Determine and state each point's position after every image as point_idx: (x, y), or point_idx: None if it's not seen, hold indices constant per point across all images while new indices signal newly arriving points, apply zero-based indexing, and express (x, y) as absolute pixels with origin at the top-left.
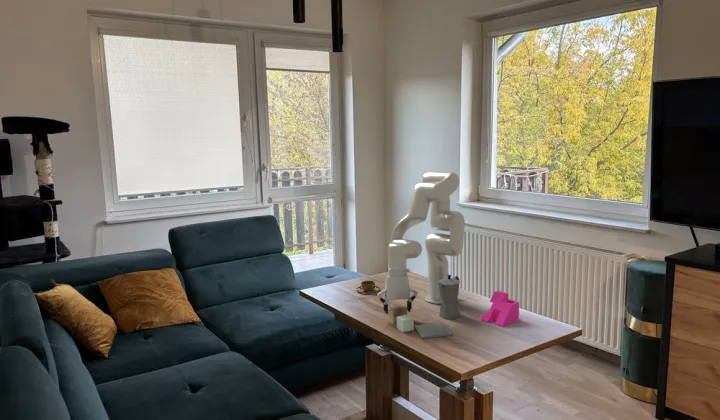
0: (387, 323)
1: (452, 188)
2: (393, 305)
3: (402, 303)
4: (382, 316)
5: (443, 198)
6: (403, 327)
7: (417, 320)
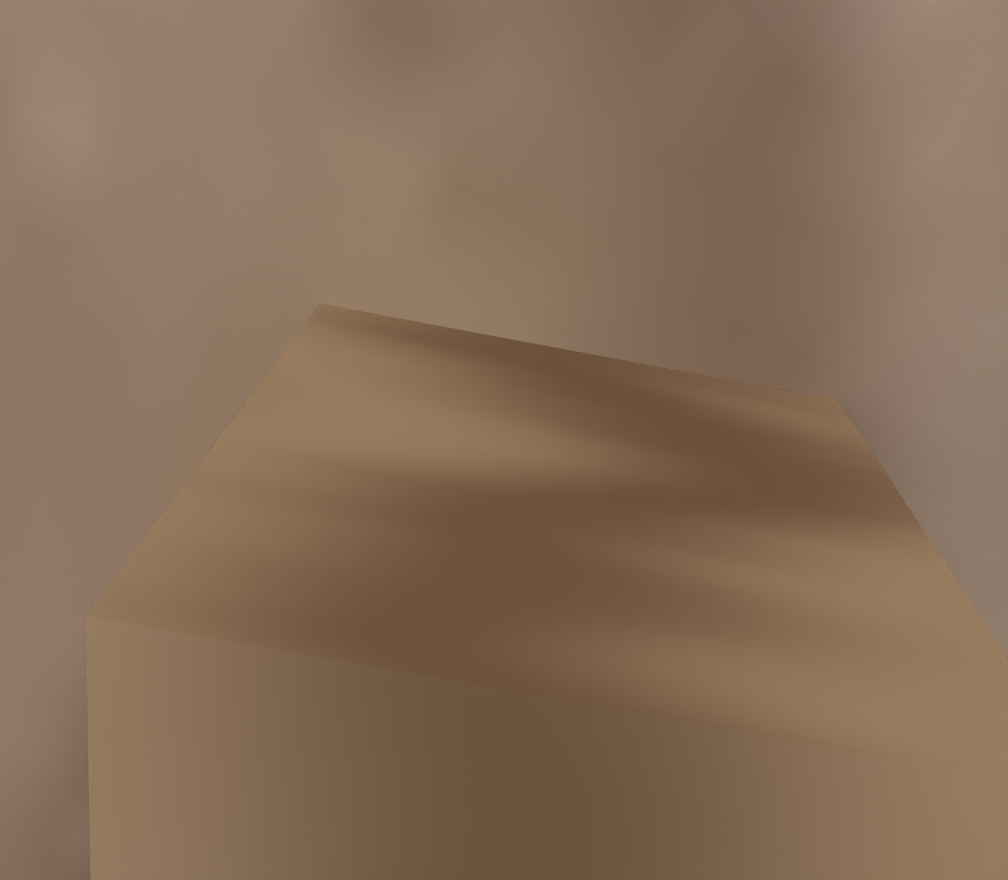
0: None
1: None
2: (269, 848)
3: (1001, 800)
4: (56, 31)
5: None
6: None
7: None
